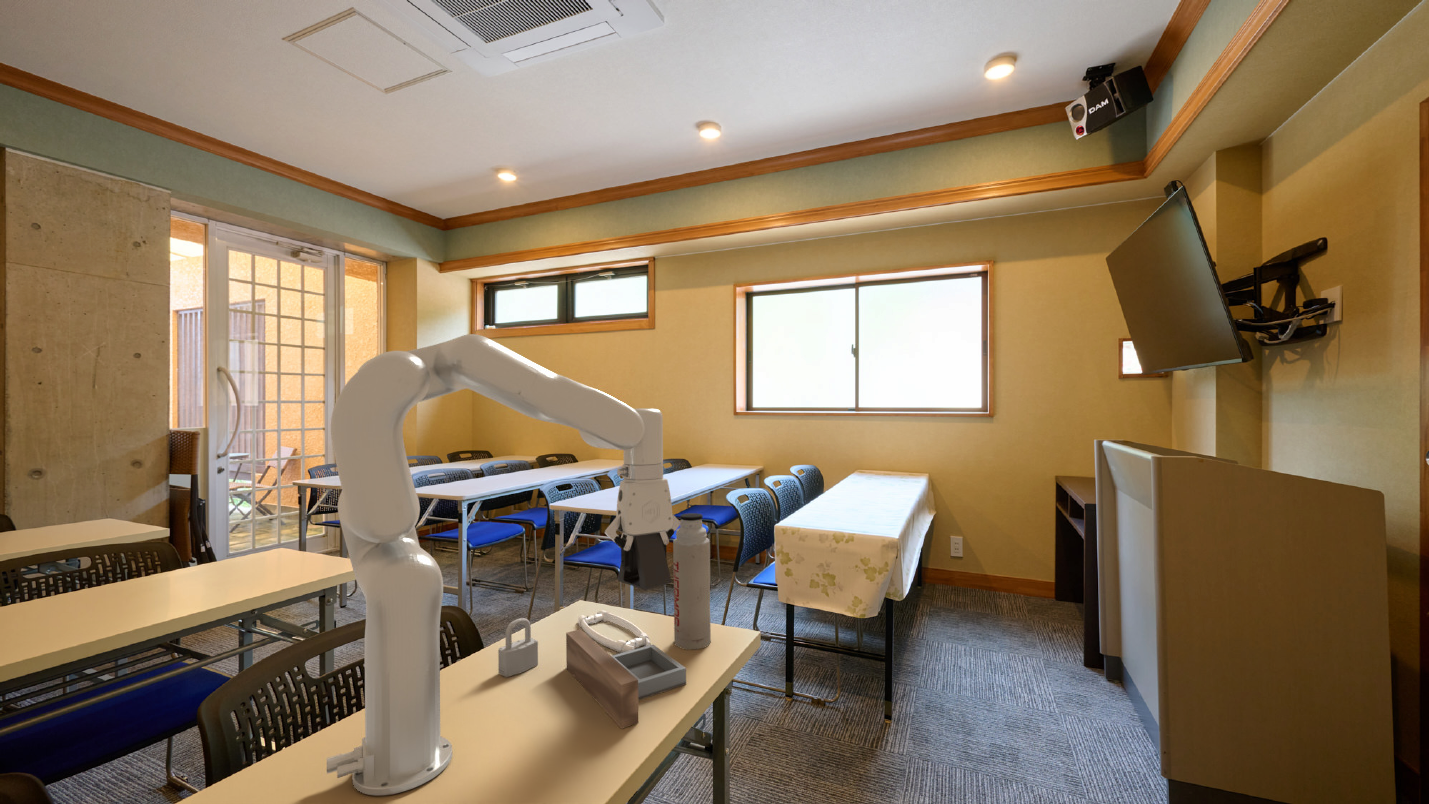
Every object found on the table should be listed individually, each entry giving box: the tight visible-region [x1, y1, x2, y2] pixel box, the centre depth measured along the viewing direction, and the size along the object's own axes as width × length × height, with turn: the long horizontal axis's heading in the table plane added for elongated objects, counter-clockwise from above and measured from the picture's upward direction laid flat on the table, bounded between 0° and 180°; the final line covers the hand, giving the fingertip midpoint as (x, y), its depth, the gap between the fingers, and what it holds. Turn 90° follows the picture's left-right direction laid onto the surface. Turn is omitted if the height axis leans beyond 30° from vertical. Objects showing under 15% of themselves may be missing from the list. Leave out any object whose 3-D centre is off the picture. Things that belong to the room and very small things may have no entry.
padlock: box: [497, 617, 539, 678], centre depth 112 cm, size 7×4×10 cm, turn 140°
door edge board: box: [565, 628, 639, 729], centre depth 103 cm, size 3×26×7 cm, turn 34°
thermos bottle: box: [672, 512, 712, 650], centre depth 125 cm, size 8×8×28 cm
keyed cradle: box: [611, 644, 687, 701], centre depth 108 cm, size 10×13×3 cm
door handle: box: [578, 609, 652, 654], centre depth 129 cm, size 3×10×25 cm
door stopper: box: [617, 533, 673, 591], centre depth 108 cm, size 9×6×12 cm, turn 45°
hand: (644, 566), depth 108 cm, fingers closed on door stopper, 6 cm apart
